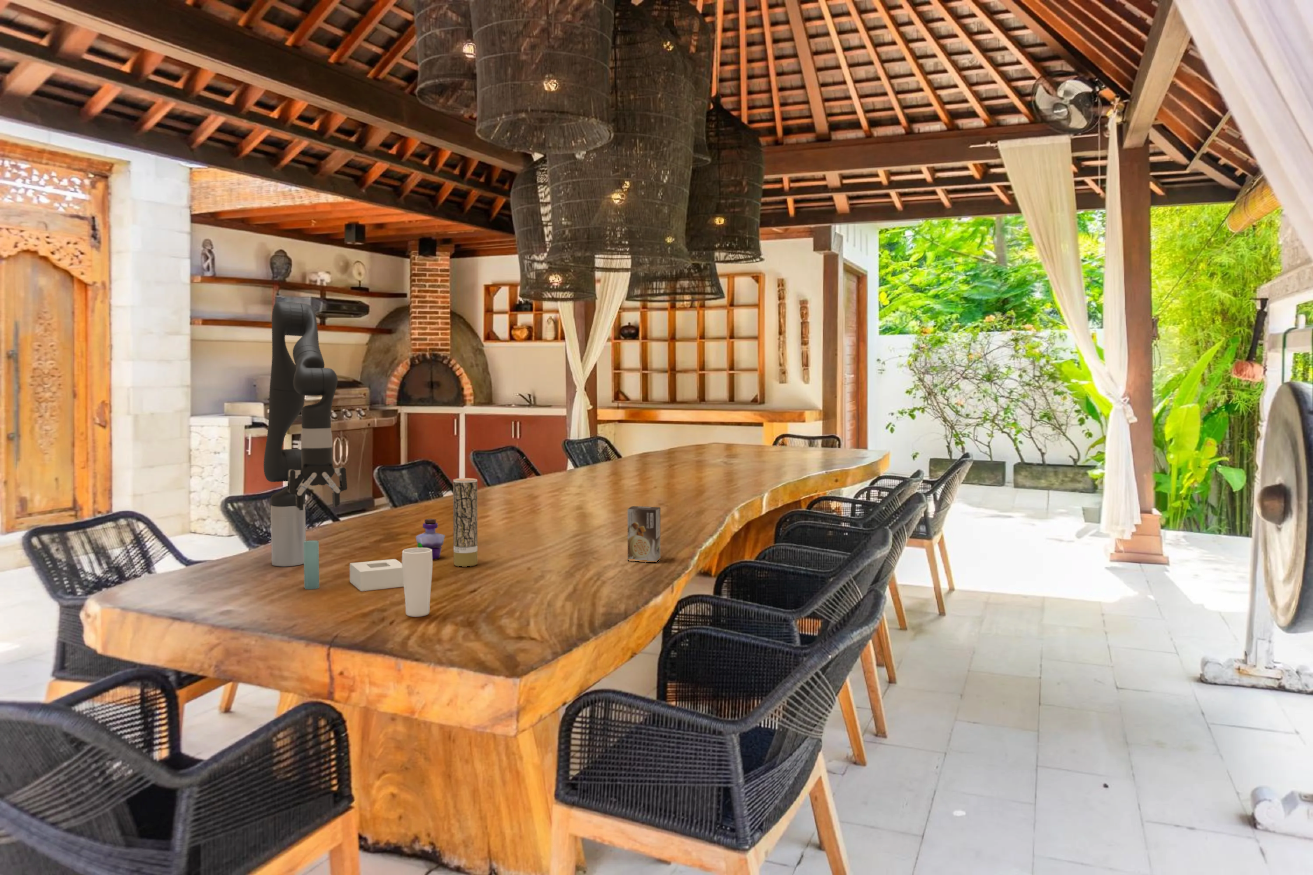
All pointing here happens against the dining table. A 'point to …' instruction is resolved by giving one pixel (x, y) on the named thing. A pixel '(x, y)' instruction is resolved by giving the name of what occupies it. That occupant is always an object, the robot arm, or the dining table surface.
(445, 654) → the dining table surface
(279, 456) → the robot arm
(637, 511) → the coffee box
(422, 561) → the drinking glass
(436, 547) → the potion bottle
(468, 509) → the paper tube
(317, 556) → the peg
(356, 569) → the socket block
